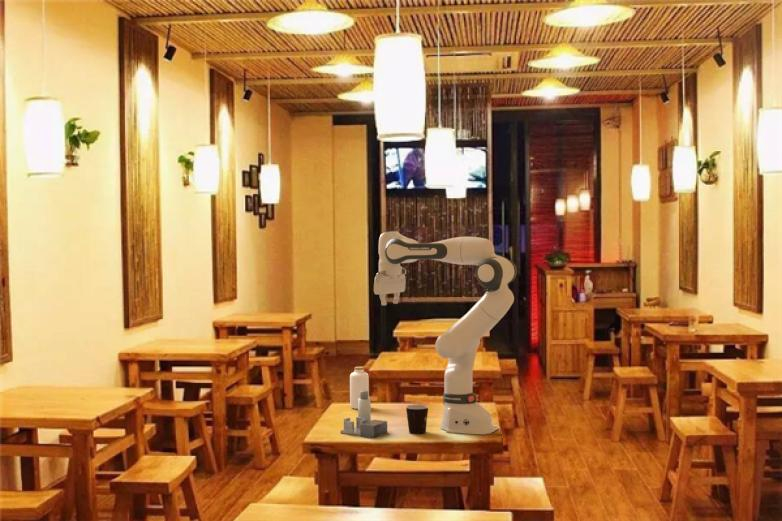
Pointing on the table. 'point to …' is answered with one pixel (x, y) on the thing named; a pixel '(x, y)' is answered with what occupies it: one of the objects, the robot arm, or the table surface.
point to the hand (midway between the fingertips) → (389, 304)
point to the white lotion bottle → (364, 406)
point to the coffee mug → (417, 418)
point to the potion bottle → (358, 385)
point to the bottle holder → (365, 427)
